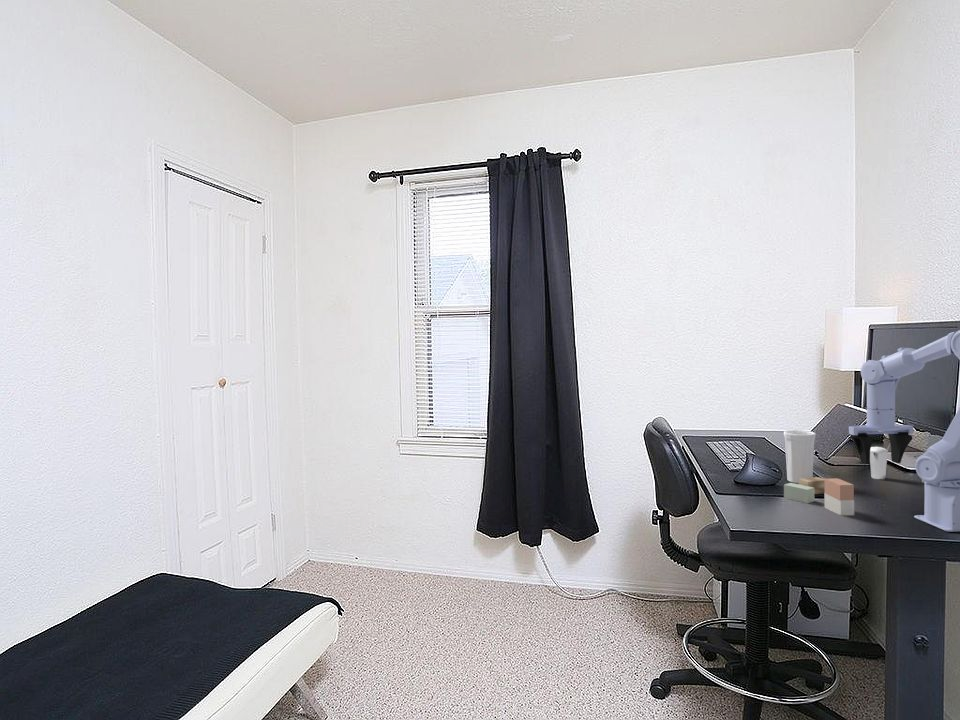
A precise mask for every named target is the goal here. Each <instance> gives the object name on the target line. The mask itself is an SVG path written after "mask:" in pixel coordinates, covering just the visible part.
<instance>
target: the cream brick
mask: <svg viewBox="0 0 960 720" xmlns="http://www.w3.org/2000/svg"><path fill="white" fill-rule="evenodd" d="M823 494H824V508H825V509H827V510H828V511H831V512H833V513H835V514H837V515H839V516H855V499H854V500H838V499H836V498H834V497H832V496H829V495H827V494H825V493H823Z"/></svg>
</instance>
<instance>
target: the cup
mask: <svg viewBox="0 0 960 720" xmlns="http://www.w3.org/2000/svg"><path fill="white" fill-rule="evenodd" d="M816 436H817V434H816V432H813V431H810V430H798V429H794V430H793V429H792V430H791V429H790V430H784V431H783V437H784V444H785V445H784V446H785V448H784V449H785V459H786V460H785V461H786V478H787V481H788V482H789V483H795V484H799V479H803V478H814V475H813V474H814V454H815V453H814V451H815V440H816Z"/></svg>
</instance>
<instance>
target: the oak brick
mask: <svg viewBox="0 0 960 720" xmlns="http://www.w3.org/2000/svg"><path fill="white" fill-rule="evenodd" d="M825 479H826V478H822V477H819V476H815V477H814V476H813V478H803V479H799V483H798V484H799V485H804V486H809V487H814V495H819V494H820V495H821V494H824V493H825Z"/></svg>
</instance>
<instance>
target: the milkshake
mask: <svg viewBox="0 0 960 720" xmlns="http://www.w3.org/2000/svg"><path fill="white" fill-rule="evenodd" d="M890 447H891V444H890V443H889V445H888V446H887V447H886V448H884V447H882V446H871V449H870V463H869V465H870V476H871V479H874V480H886V473H887V472H886V471H887V463H888V455H889V453H888V452H889V448H890Z"/></svg>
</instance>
